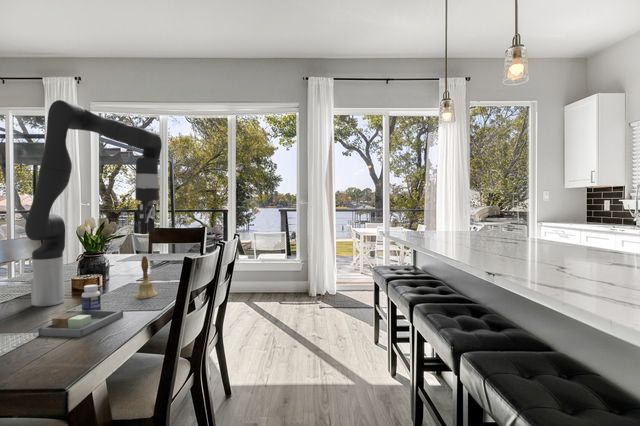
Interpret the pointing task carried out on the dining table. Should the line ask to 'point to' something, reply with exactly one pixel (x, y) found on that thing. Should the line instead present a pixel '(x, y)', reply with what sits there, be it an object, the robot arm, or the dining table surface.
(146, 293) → the hand bell
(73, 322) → the sage block
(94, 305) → the pill bottle
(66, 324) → the walnut block
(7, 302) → the dining table surface
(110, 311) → the parts tray
